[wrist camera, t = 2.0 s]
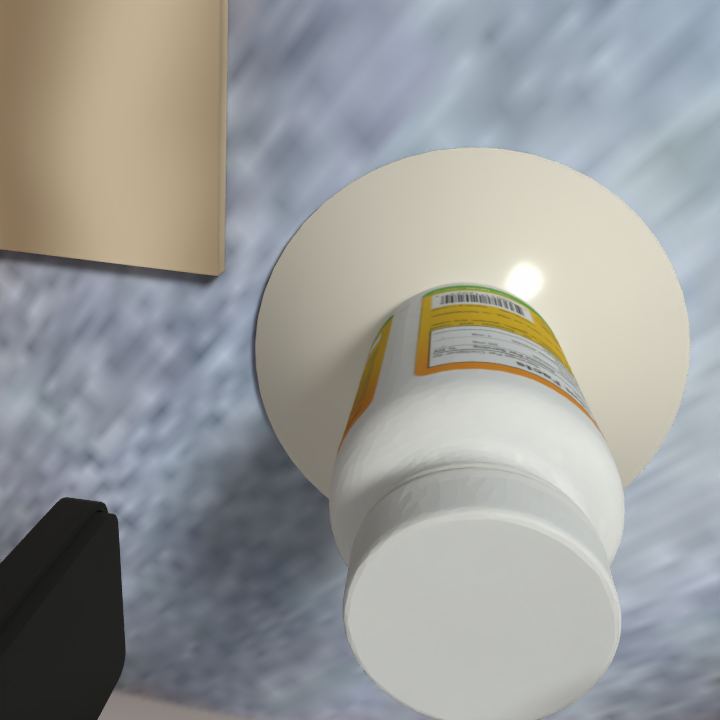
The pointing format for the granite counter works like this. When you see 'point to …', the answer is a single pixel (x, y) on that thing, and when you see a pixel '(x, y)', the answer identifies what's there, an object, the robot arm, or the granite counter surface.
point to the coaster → (474, 265)
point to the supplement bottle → (476, 513)
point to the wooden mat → (115, 131)
